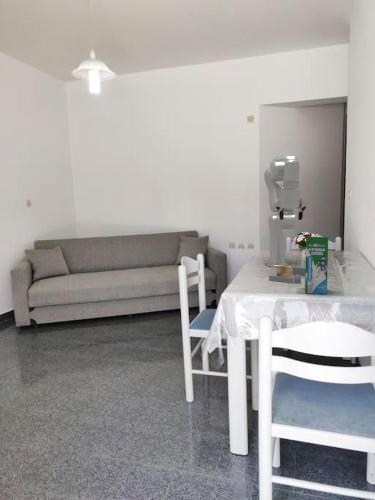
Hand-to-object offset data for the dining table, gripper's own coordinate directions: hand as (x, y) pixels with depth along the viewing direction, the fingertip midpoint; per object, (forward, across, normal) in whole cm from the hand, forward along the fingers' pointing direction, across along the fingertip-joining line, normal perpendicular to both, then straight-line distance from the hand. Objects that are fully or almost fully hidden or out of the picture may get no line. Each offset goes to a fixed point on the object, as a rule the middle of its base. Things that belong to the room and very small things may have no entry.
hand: (290, 219), depth 195 cm
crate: (+29, +1, -10) cm, 31 cm away
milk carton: (+31, +20, -20) cm, 42 cm away
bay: (+30, +2, -5) cm, 31 cm away
